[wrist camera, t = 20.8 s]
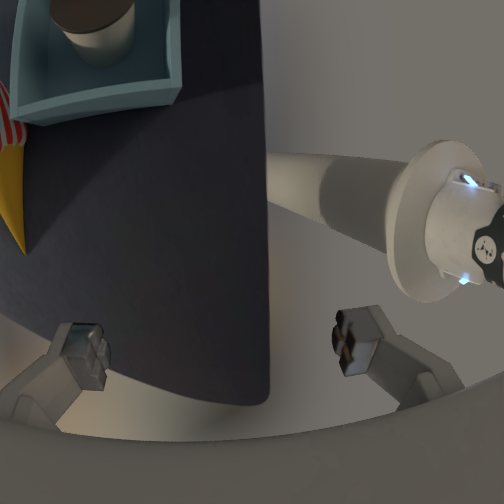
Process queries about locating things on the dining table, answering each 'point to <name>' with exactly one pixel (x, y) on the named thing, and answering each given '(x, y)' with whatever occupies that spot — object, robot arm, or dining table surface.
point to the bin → (92, 67)
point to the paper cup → (97, 28)
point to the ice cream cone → (11, 168)
